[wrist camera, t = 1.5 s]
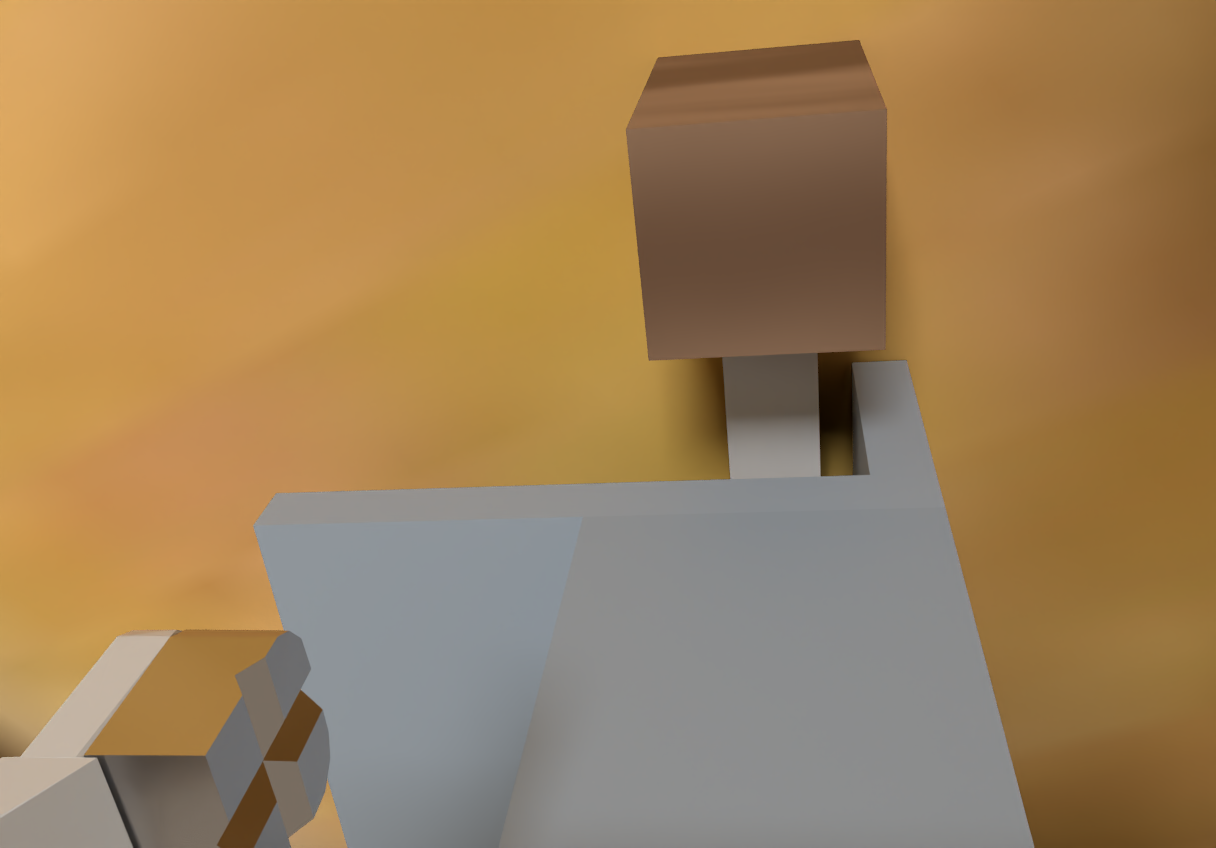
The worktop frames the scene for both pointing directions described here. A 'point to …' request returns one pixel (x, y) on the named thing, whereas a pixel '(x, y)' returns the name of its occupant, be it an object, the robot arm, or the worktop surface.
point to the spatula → (762, 230)
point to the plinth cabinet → (654, 658)
